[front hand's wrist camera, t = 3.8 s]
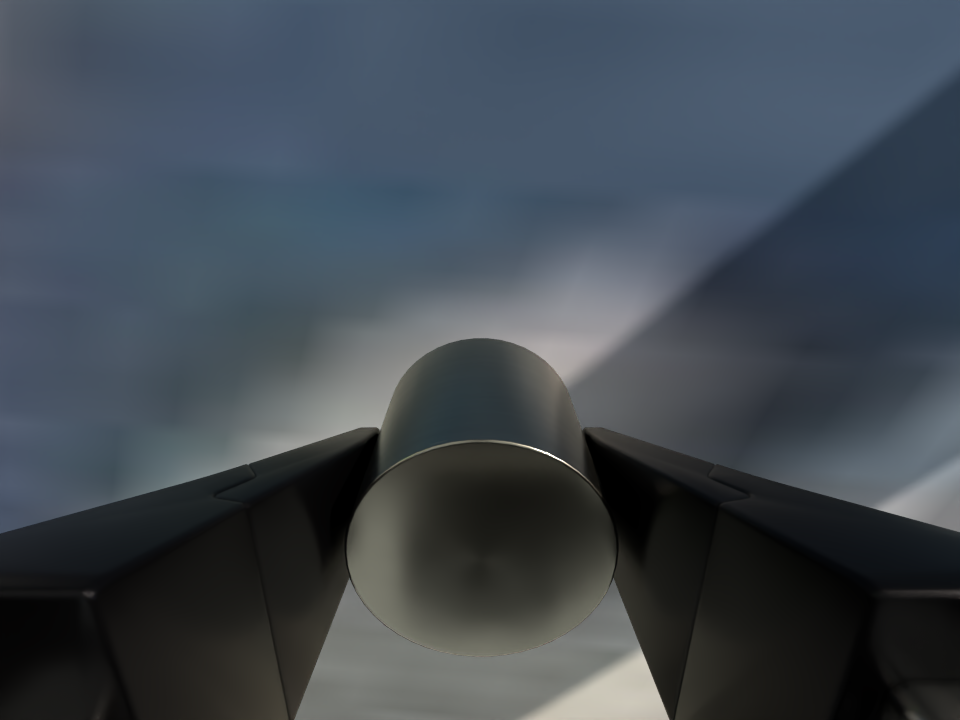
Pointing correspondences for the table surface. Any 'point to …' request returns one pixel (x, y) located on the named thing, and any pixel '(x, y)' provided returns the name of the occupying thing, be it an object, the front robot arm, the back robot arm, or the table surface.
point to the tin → (481, 506)
